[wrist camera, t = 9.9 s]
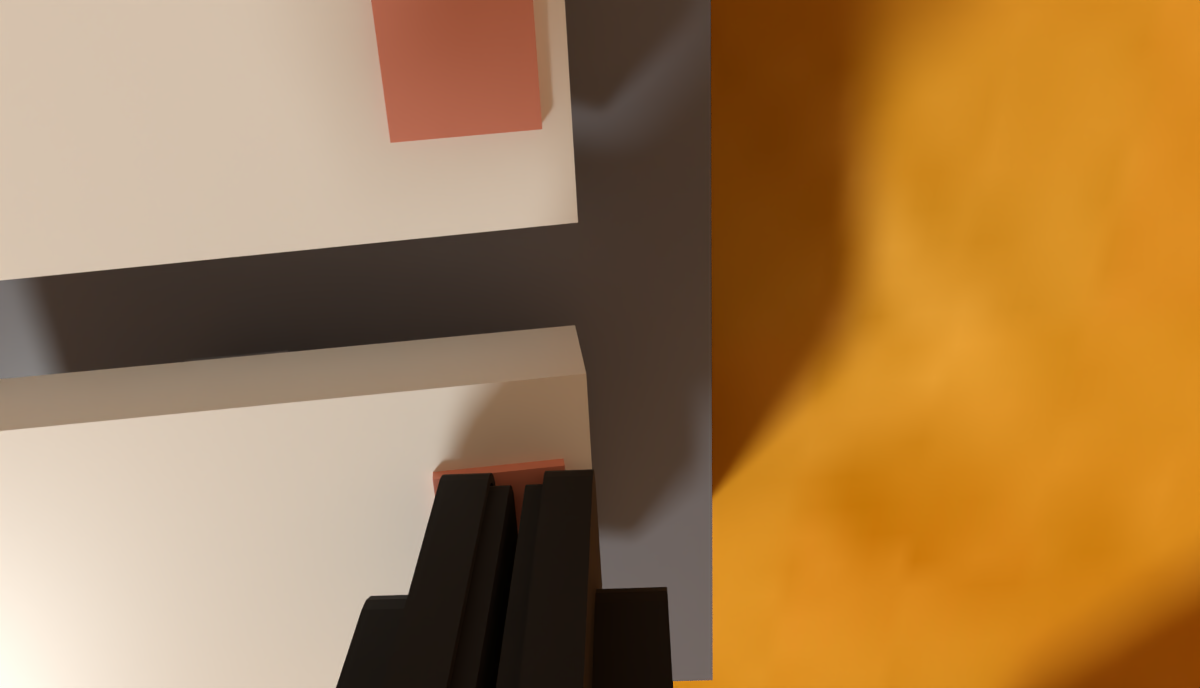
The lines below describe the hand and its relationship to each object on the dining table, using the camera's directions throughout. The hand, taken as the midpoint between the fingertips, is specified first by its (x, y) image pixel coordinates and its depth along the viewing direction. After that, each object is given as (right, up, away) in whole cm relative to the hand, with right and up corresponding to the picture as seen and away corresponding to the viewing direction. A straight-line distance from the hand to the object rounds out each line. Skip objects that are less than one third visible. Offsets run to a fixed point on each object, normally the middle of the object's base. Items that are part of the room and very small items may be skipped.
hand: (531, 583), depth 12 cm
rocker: (-4, +1, +2) cm, 4 cm away
